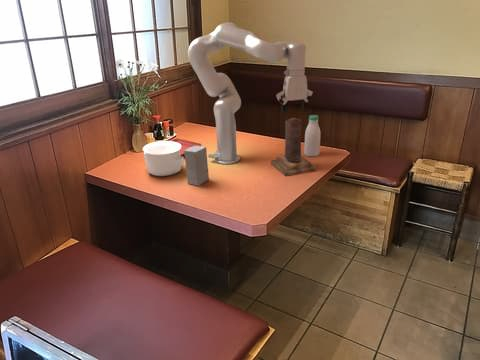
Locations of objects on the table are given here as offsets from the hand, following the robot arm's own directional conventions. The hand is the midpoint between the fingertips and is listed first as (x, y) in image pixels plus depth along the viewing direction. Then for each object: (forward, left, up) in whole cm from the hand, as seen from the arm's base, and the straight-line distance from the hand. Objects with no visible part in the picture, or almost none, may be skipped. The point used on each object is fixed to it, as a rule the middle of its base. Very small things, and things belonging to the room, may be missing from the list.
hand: (293, 111), depth 186 cm
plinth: (0, 0, -27) cm, 27 cm away
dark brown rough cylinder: (0, 0, -24) cm, 24 cm away
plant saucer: (-46, +43, -28) cm, 68 cm away
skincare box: (-46, +2, -27) cm, 53 cm away
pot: (-58, +19, -27) cm, 67 cm away
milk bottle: (+16, +11, -27) cm, 33 cm away
